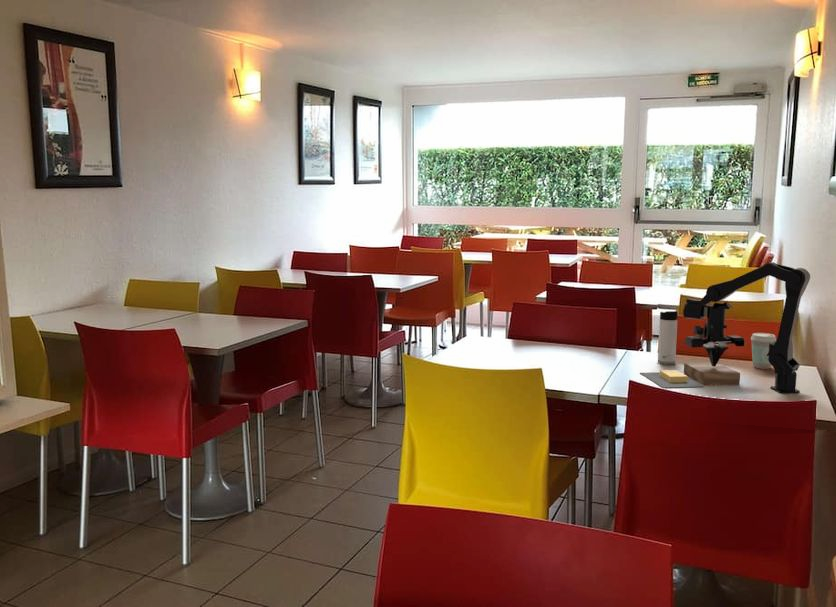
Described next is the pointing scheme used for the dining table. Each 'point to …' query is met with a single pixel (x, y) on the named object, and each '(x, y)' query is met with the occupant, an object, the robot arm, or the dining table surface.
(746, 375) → the dining table surface
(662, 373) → the yellow flat block
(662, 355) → the travel mug
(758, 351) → the coffee cup
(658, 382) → the mat
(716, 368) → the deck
